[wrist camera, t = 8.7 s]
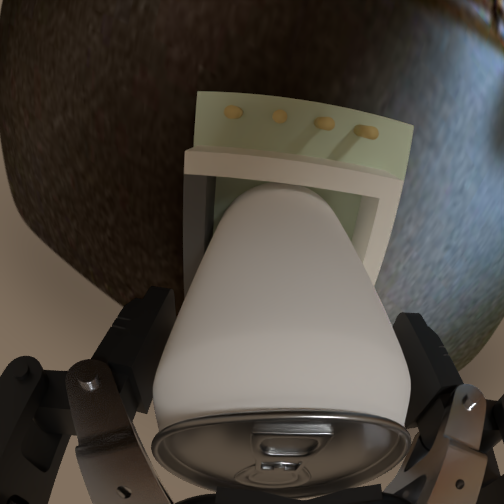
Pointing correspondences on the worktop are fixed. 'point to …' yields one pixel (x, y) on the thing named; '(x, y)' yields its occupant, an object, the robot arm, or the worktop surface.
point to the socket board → (293, 166)
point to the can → (281, 358)
